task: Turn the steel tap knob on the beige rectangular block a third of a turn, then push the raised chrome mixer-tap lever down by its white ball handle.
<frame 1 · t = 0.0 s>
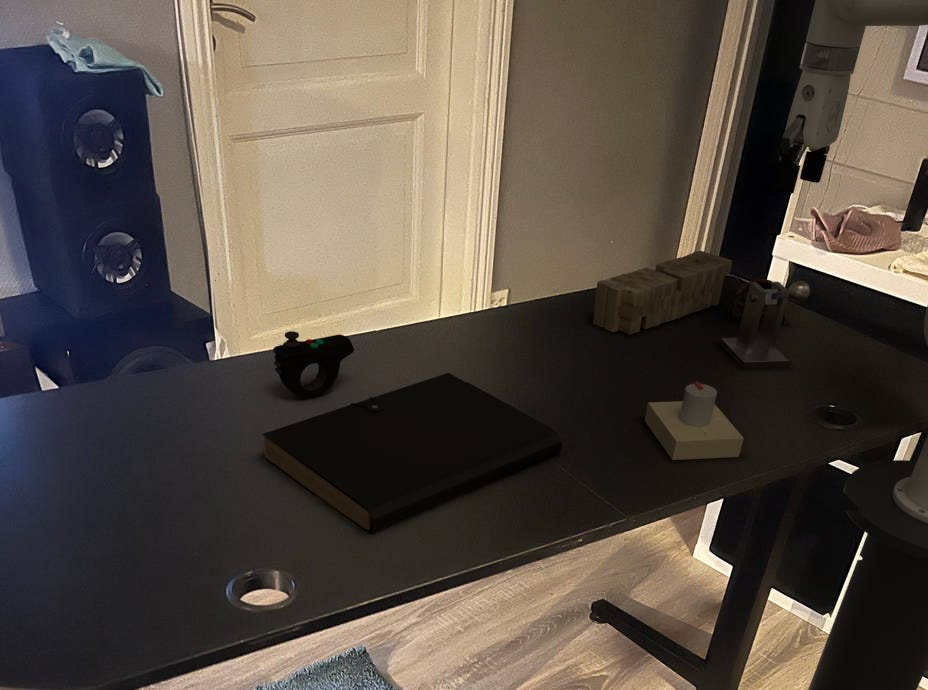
hand: (796, 186, 150), 27 cm above the table, tool pointing down, fingers open, 9 cm apart
controller: (315, 394, 147), on the table
black hardcover book: (414, 459, 133), on the table
block tower: (659, 314, 179), on the table
beige rectangular block: (690, 438, 141), on the table
tap lever: (783, 294, 155), point 12 cm above the table, hinge at 25.0°
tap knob: (698, 403, 138), point 5 cm above the table, hinge at 0.0°
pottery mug: (757, 320, 179), on the table
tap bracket: (752, 355, 166), on the table
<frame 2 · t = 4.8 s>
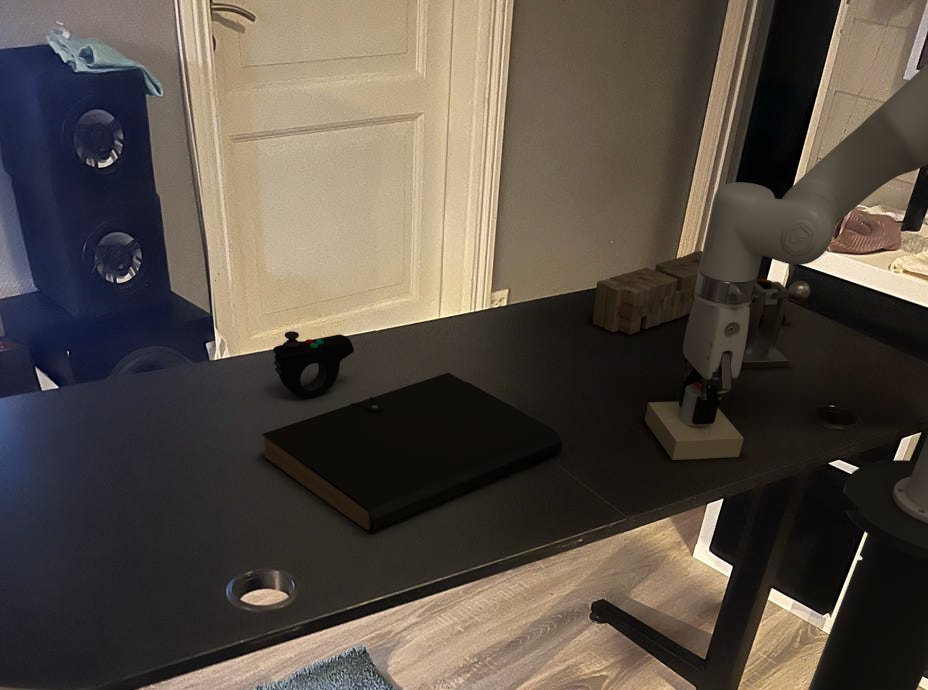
hand: (696, 413, 139), 4 cm above the table, tool pointing down, fingers closed on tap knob, 4 cm apart
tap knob: (698, 403, 138), point 5 cm above the table, hinge at -0.1°, touching gripper
everything else where it was.
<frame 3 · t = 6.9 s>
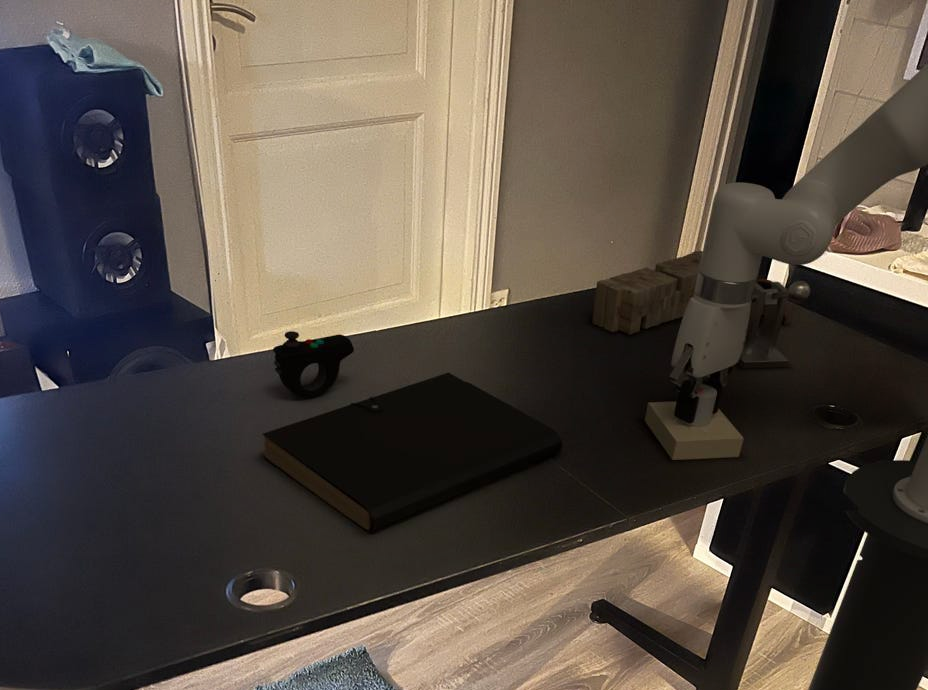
hand: (695, 413, 139), 4 cm above the table, tool pointing down, fingers closed on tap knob, 4 cm apart
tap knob: (698, 403, 138), point 5 cm above the table, hinge at 120.1°, touching gripper
everything else where it was.
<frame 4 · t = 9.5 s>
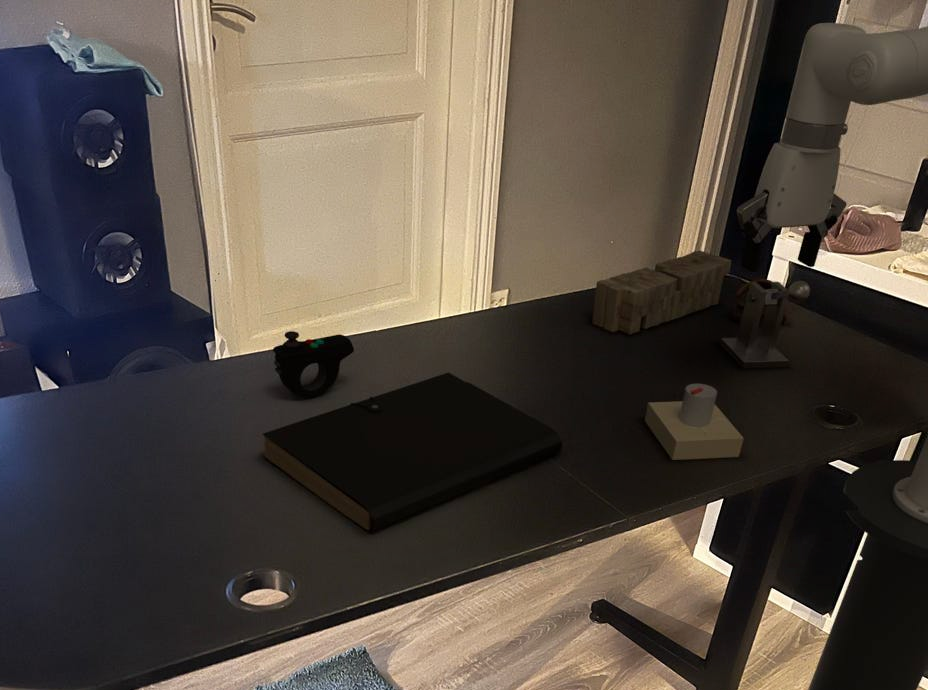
hand: (777, 266, 139), 21 cm above the table, tool pointing down, fingers open, 9 cm apart
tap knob: (698, 403, 138), point 5 cm above the table, hinge at 121.4°
everything else where it was.
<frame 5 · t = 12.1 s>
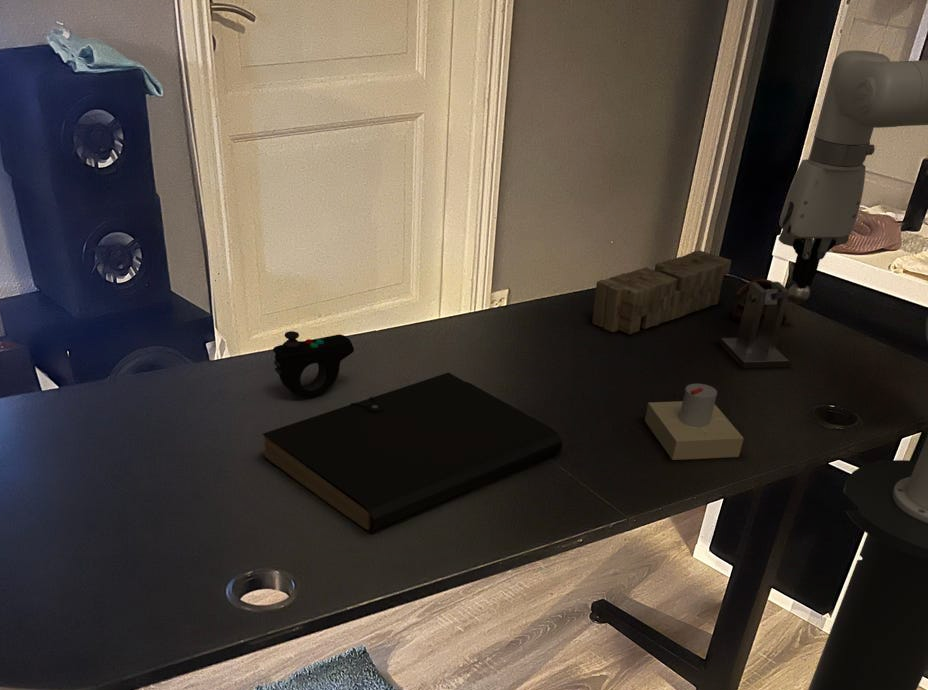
hand: (801, 282, 149), 16 cm above the table, tool pointing down, fingers closed
tap lever: (782, 295, 155), point 12 cm above the table, hinge at 23.6°, touching gripper
everything else where it was.
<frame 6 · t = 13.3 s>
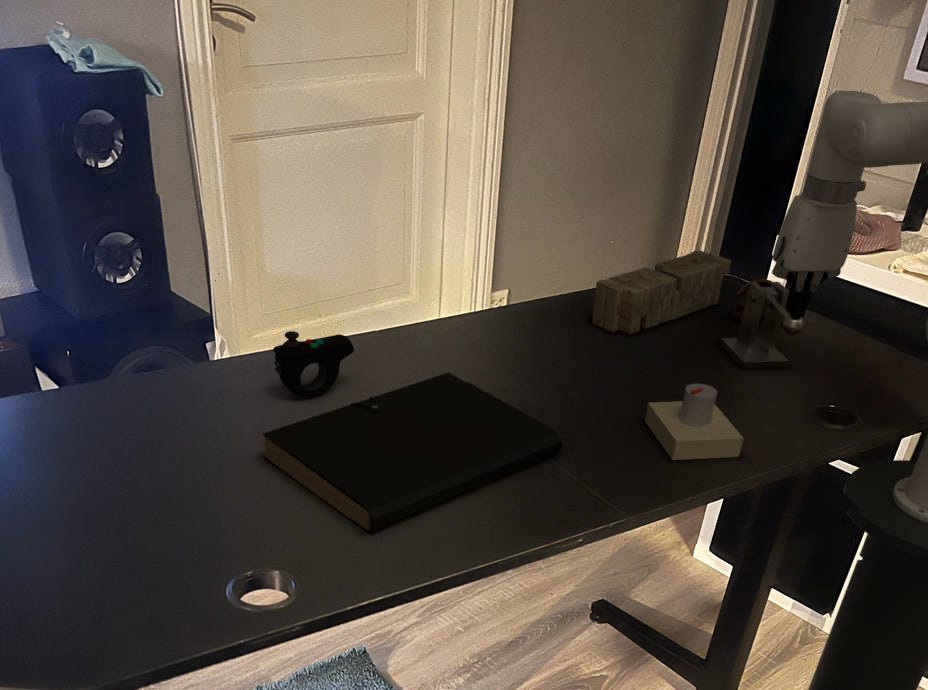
hand: (794, 314, 152), 11 cm above the table, tool pointing down, fingers closed
tap lever: (780, 311, 156), point 10 cm above the table, hinge at -4.1°, touching gripper
everything else where it was.
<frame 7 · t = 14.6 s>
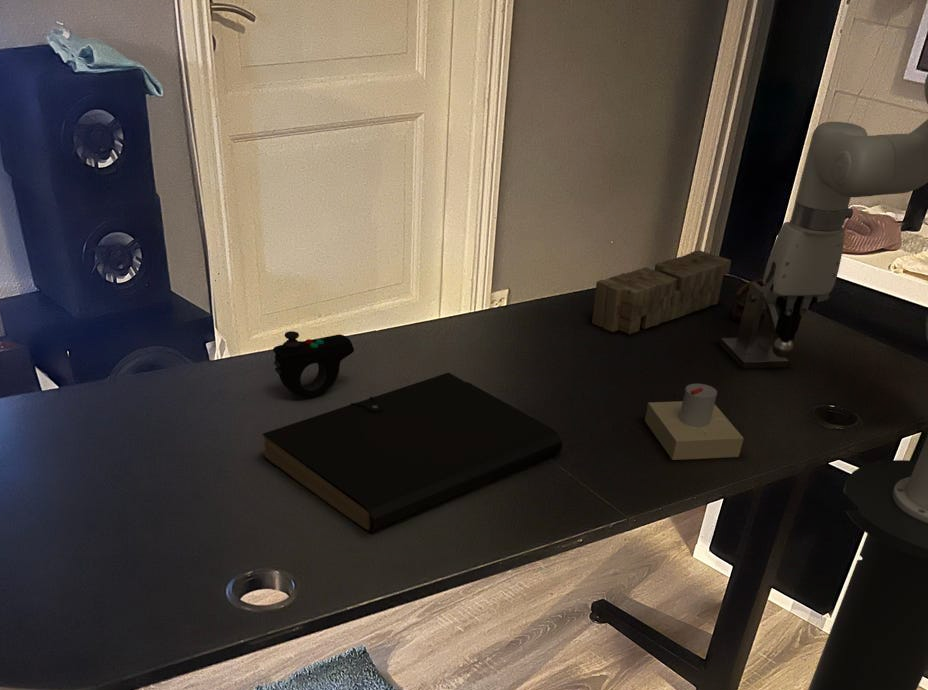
hand: (784, 336, 155), 7 cm above the table, tool pointing down, fingers closed
tap lever: (775, 322, 158), point 8 cm above the table, hinge at -28.8°, touching gripper
everything else where it was.
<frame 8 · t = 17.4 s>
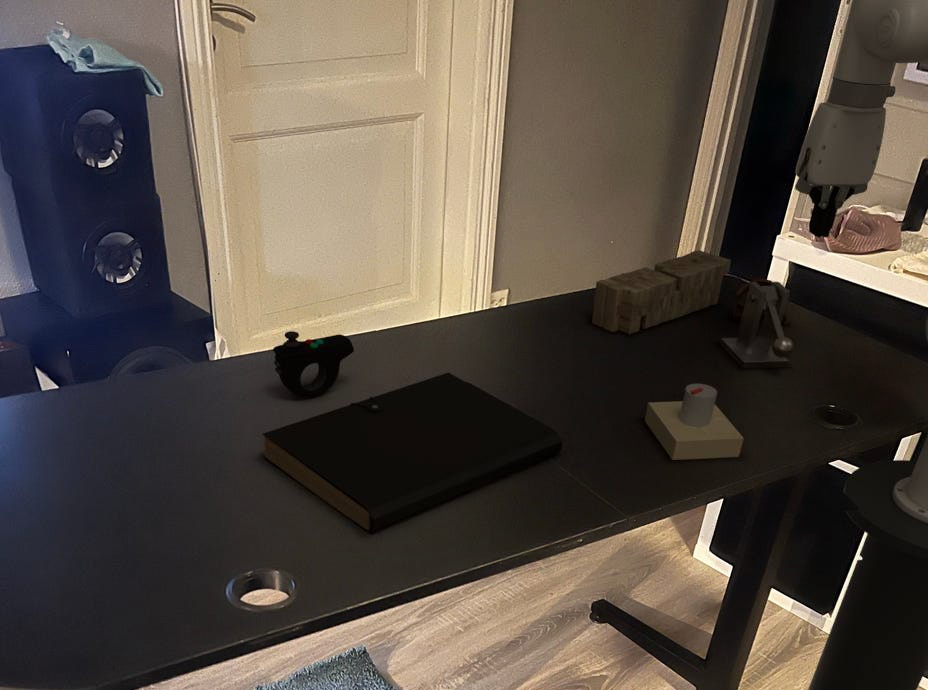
hand: (818, 234, 144), 23 cm above the table, tool pointing down, fingers closed
tap lever: (775, 322, 158), point 8 cm above the table, hinge at -28.9°
everything else where it was.
at the end: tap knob at +121° (first picture: +0°); tap lever at -29° (first picture: +25°) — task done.
